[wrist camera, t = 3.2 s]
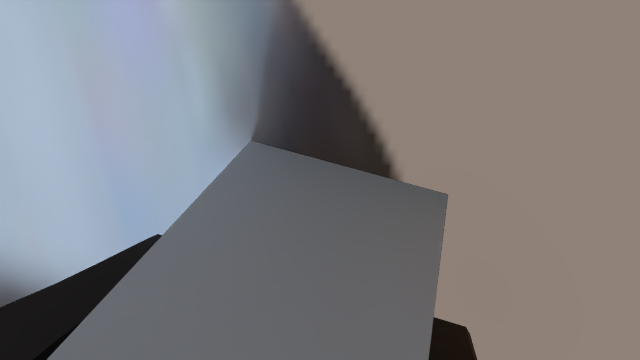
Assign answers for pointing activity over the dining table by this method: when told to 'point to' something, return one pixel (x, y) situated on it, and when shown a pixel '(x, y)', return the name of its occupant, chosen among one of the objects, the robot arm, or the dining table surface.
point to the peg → (280, 271)
